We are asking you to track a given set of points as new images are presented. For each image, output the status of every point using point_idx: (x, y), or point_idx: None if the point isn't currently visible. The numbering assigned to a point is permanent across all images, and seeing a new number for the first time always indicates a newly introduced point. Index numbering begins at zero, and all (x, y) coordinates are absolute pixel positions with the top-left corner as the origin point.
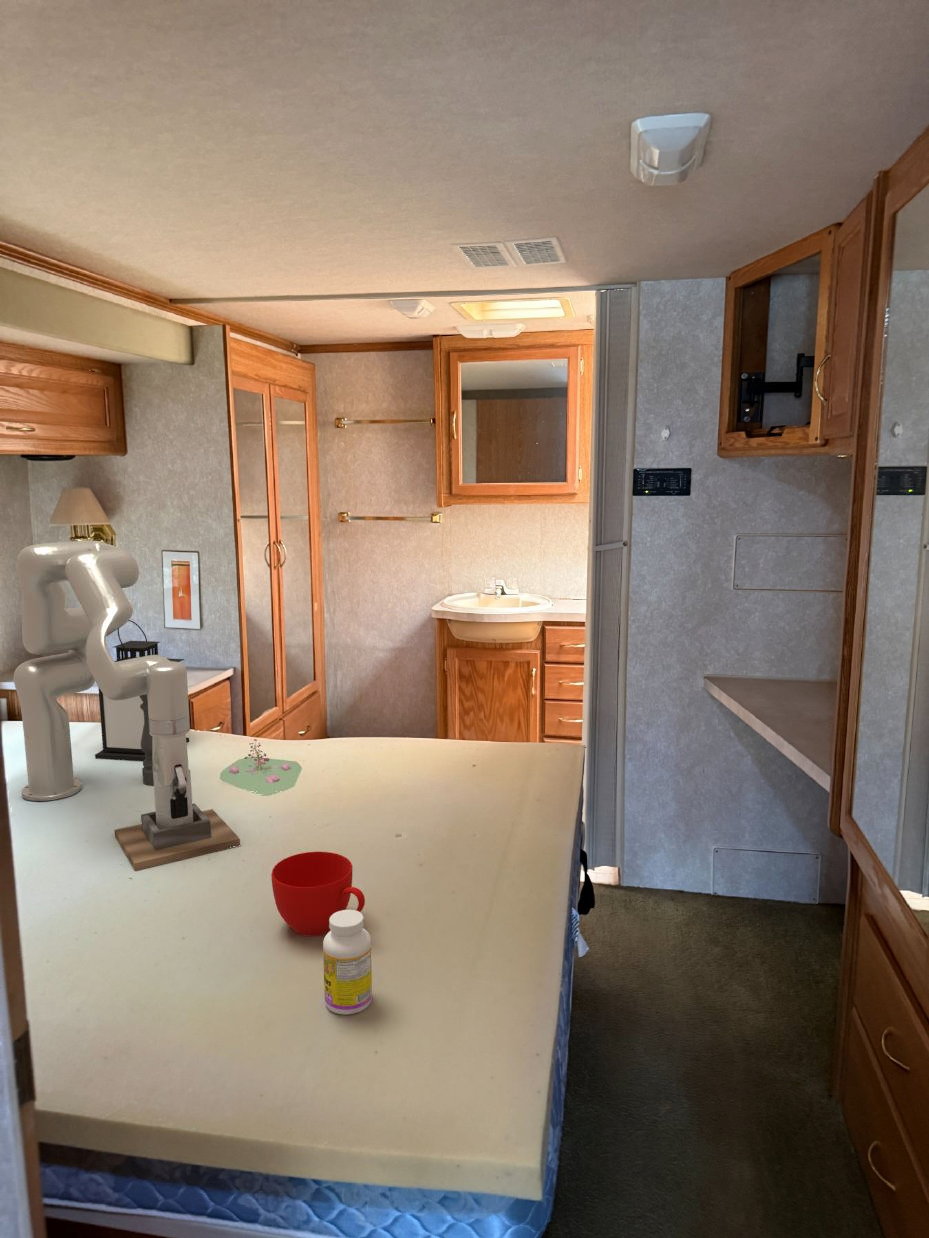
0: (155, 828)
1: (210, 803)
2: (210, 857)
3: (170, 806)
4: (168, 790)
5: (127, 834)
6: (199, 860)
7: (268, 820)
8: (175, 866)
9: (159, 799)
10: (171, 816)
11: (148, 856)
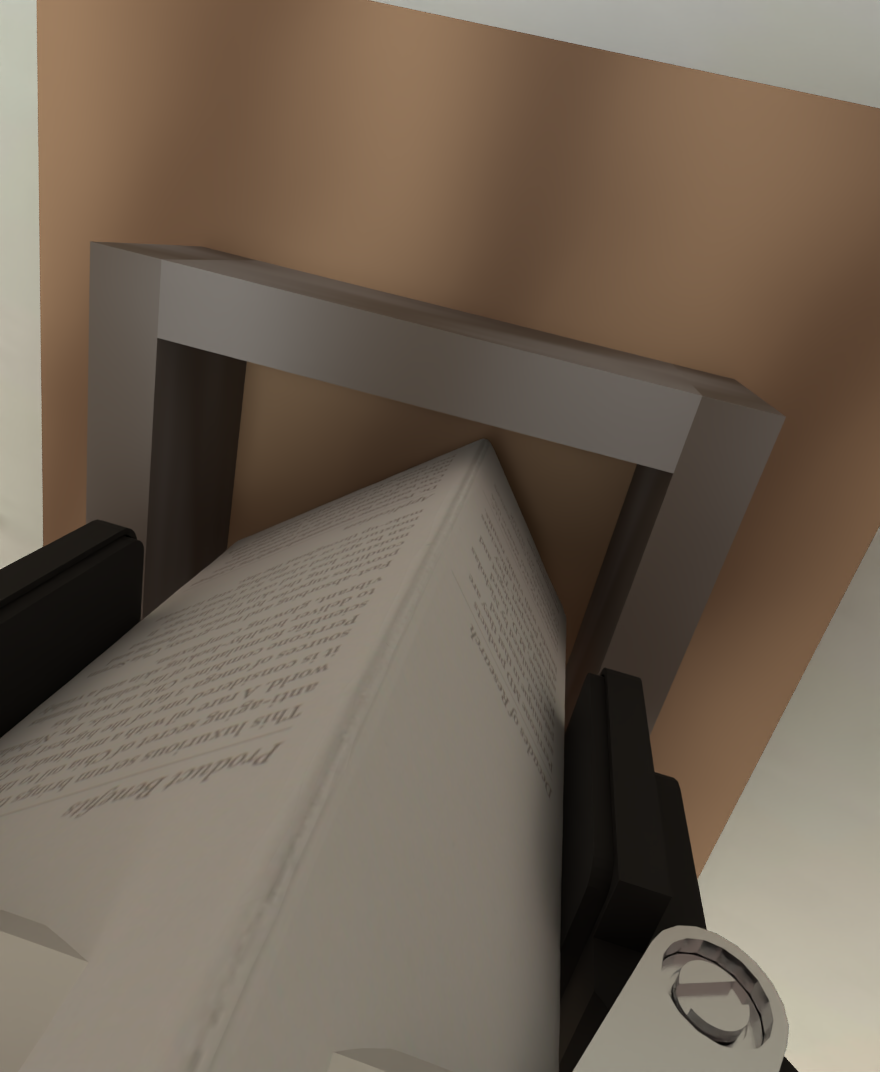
0: (210, 322)
1: (866, 1035)
2: (18, 538)
3: (3, 587)
4: (21, 808)
5: (780, 211)
6: (11, 464)
7: None
8: (3, 289)
9: (319, 616)
10: (85, 526)
11: (113, 129)
